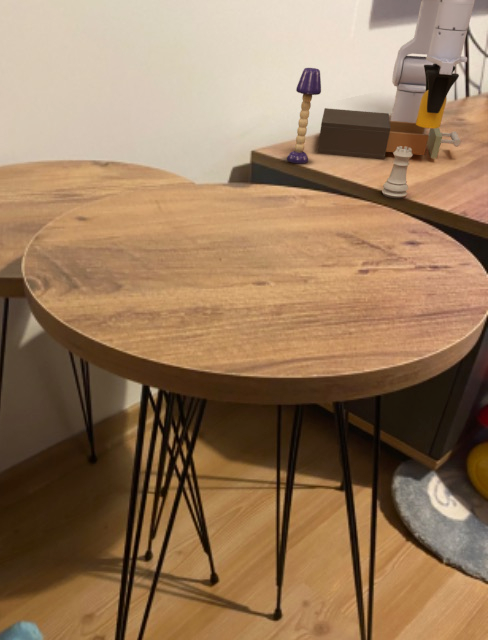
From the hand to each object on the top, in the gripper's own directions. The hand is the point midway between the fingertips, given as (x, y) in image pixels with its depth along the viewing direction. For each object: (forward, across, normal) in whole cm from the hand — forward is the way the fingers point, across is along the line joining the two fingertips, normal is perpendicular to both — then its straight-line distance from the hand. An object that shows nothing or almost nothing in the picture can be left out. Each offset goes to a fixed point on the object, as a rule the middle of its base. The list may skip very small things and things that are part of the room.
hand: (431, 109), depth 125 cm
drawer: (+9, +8, +1) cm, 12 cm away
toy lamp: (+10, -5, +24) cm, 26 cm away
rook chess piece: (+11, -20, +6) cm, 24 cm away
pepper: (+3, 0, 0) cm, 3 cm away
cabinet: (+10, +8, +14) cm, 19 cm away
